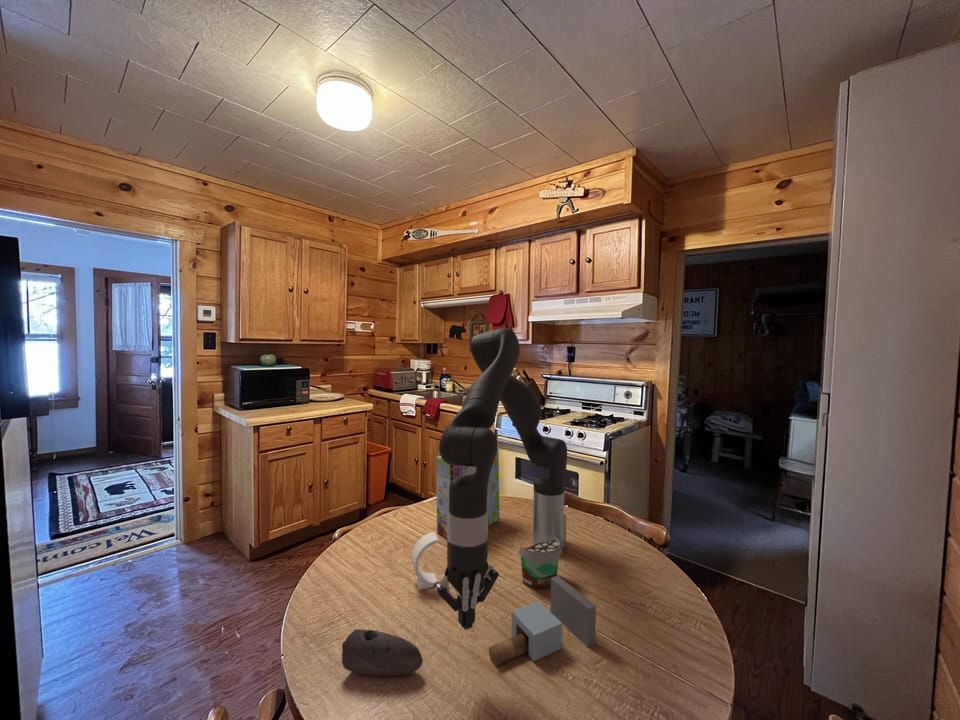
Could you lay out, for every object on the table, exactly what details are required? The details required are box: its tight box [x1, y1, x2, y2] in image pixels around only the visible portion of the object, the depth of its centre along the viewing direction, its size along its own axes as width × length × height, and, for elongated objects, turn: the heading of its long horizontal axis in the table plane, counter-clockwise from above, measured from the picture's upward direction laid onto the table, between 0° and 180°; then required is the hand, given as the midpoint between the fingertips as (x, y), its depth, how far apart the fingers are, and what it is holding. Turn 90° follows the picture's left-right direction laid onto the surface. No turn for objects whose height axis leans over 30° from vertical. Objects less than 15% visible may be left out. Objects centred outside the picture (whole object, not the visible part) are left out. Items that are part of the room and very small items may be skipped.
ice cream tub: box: [518, 536, 563, 591], centre depth 101 cm, size 12×6×10 cm, turn 117°
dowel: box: [488, 632, 529, 667], centre depth 78 cm, size 8×3×3 cm, turn 119°
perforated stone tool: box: [340, 628, 424, 677], centre depth 74 cm, size 15×5×7 cm, turn 83°
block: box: [511, 600, 563, 662], centre depth 82 cm, size 7×8×5 cm
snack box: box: [435, 447, 501, 540], centre depth 132 cm, size 22×9×26 cm, turn 133°
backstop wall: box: [549, 575, 597, 648], centre depth 86 cm, size 2×12×8 cm, turn 29°
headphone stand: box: [411, 531, 439, 591], centre depth 101 cm, size 5×6×12 cm
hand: (466, 625), depth 74 cm, fingers closed
